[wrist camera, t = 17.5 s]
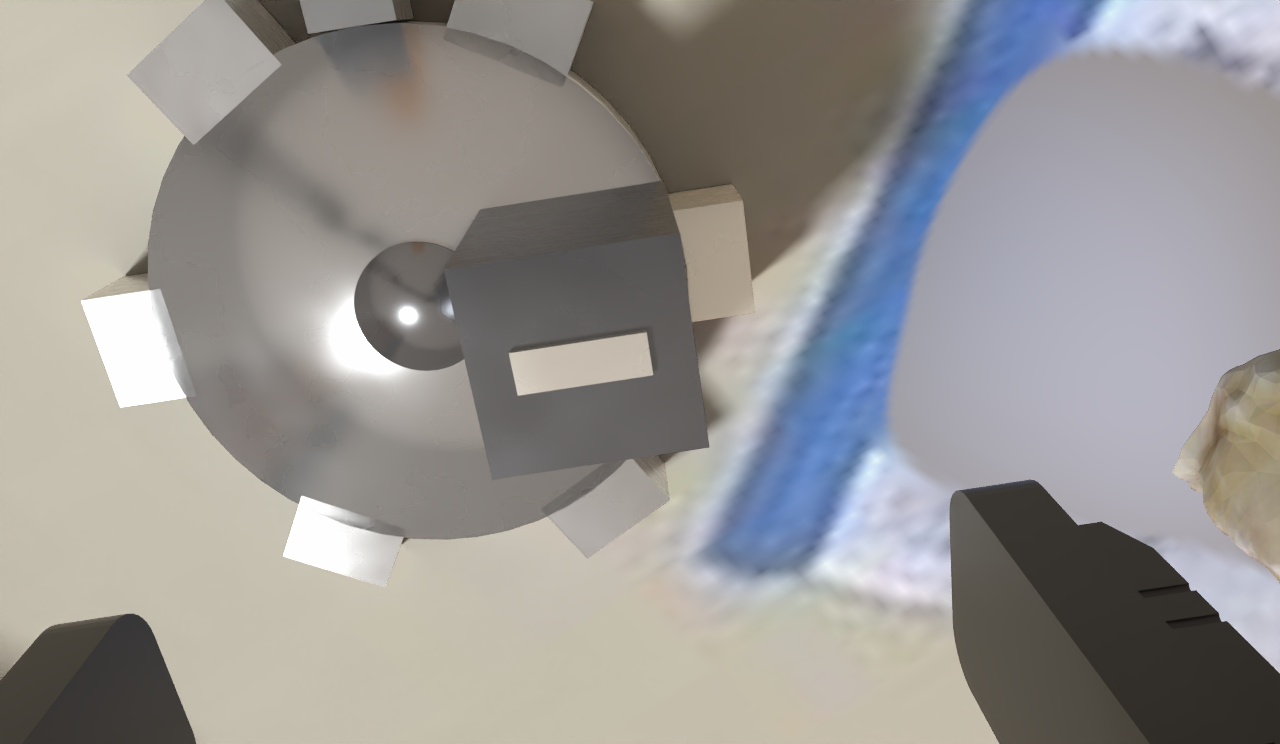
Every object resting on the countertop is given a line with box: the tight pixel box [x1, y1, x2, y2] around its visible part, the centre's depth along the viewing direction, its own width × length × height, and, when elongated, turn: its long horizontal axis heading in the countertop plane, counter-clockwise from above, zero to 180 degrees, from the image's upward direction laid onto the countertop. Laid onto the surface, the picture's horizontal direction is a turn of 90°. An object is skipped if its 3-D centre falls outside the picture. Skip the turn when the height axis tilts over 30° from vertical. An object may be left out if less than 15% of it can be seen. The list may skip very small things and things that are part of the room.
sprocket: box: [81, 0, 755, 587], centre depth 23 cm, size 15×14×2 cm
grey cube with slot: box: [444, 181, 709, 480], centre depth 19 cm, size 4×4×5 cm
